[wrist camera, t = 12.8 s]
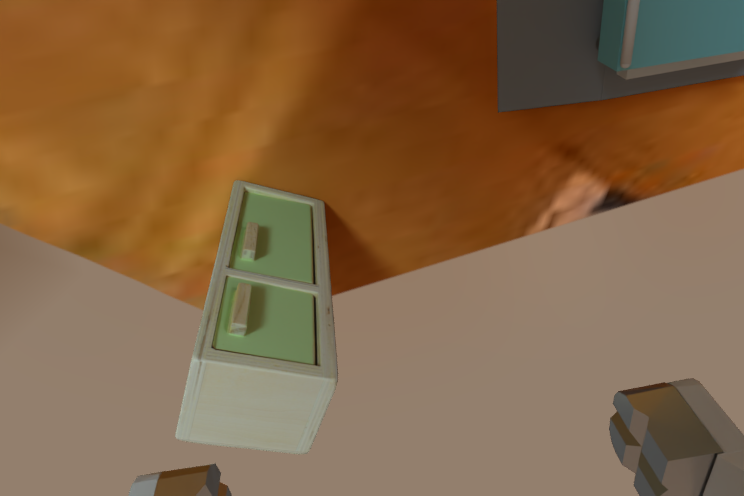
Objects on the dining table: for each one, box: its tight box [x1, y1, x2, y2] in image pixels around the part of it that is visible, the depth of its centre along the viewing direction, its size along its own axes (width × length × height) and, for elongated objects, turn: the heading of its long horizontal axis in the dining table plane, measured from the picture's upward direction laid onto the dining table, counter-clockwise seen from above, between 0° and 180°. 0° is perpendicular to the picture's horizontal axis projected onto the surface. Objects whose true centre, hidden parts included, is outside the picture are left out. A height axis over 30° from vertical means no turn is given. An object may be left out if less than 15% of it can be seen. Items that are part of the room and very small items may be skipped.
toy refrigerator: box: [175, 180, 338, 454], centre depth 38 cm, size 8×7×21 cm
